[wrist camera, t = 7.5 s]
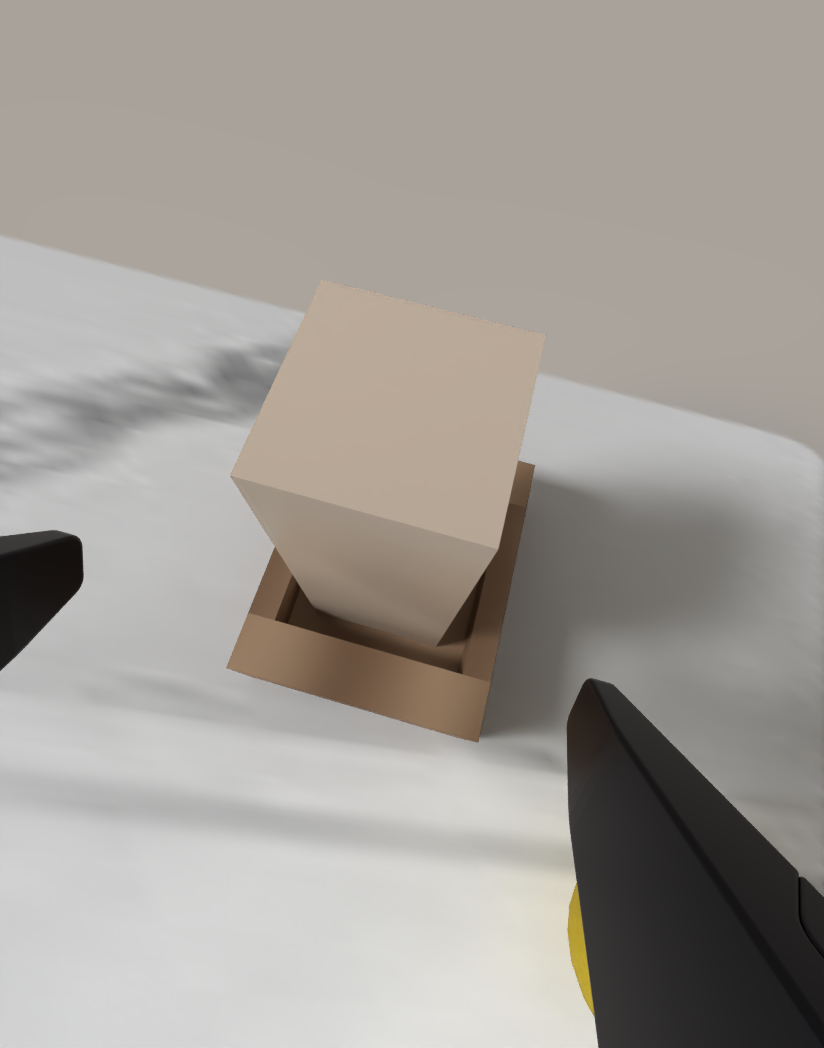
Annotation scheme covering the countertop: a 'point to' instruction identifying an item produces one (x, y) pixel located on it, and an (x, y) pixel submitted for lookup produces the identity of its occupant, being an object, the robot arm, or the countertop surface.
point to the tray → (386, 645)
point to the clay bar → (390, 456)
